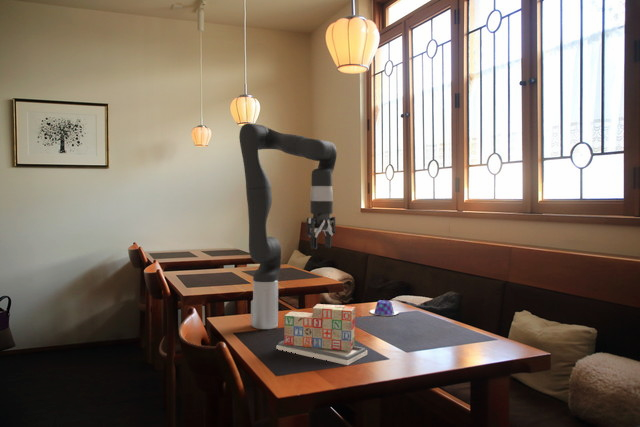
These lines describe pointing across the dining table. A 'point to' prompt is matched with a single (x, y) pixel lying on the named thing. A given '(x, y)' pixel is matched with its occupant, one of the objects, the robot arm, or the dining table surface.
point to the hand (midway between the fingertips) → (321, 247)
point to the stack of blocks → (321, 327)
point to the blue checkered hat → (384, 308)
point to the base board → (326, 353)
